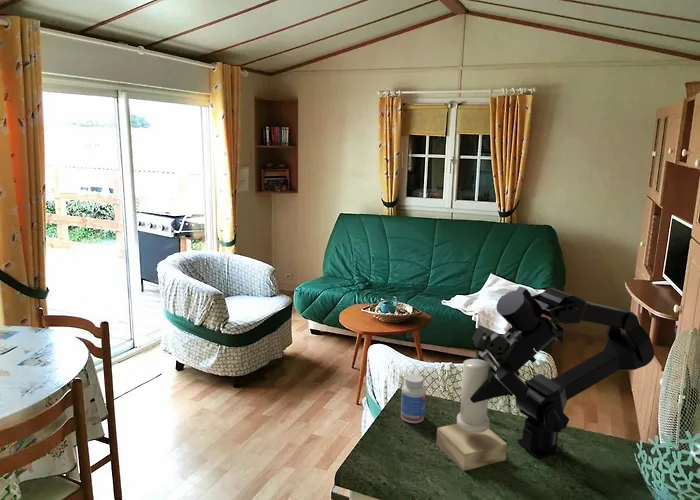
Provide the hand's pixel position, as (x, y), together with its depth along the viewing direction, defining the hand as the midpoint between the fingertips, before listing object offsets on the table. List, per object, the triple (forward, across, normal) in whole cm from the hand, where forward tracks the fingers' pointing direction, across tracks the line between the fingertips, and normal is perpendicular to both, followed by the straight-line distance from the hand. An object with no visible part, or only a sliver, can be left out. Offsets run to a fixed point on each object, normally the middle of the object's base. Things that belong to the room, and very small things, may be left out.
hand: (467, 394), depth 108 cm
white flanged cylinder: (+4, 0, +6) cm, 7 cm away
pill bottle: (+15, -13, +3) cm, 20 cm away
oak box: (+8, 0, +10) cm, 13 cm away
